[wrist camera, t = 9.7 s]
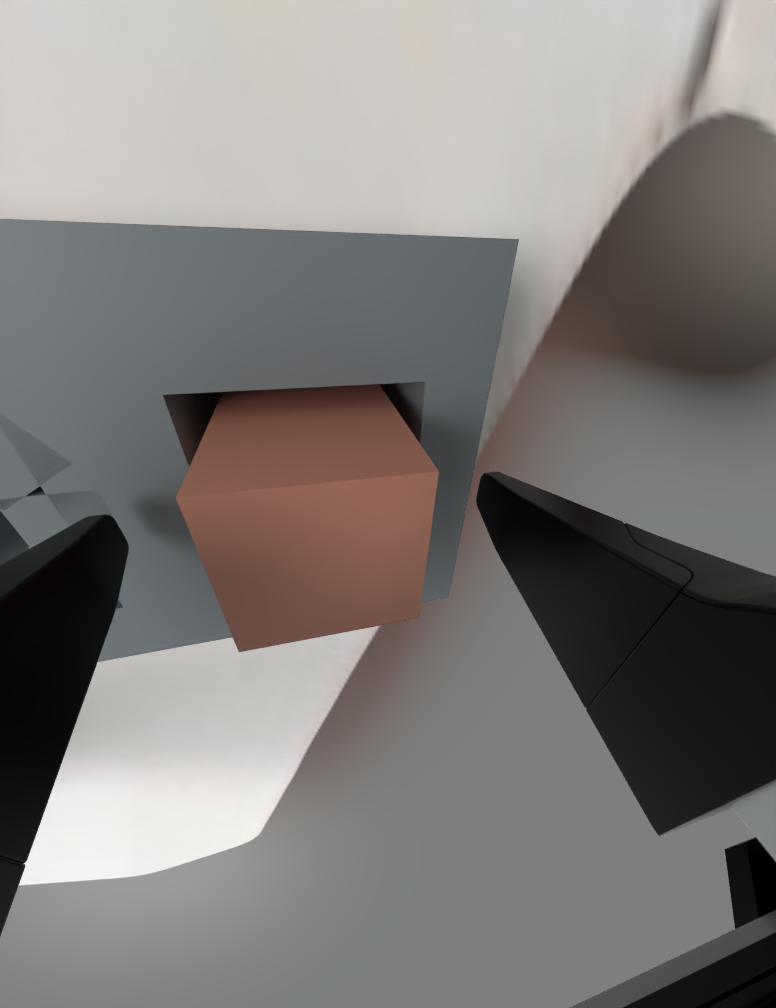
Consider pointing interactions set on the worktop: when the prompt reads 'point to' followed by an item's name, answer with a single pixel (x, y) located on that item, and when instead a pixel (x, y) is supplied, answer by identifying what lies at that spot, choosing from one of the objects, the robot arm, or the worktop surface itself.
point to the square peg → (310, 512)
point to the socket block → (221, 377)
